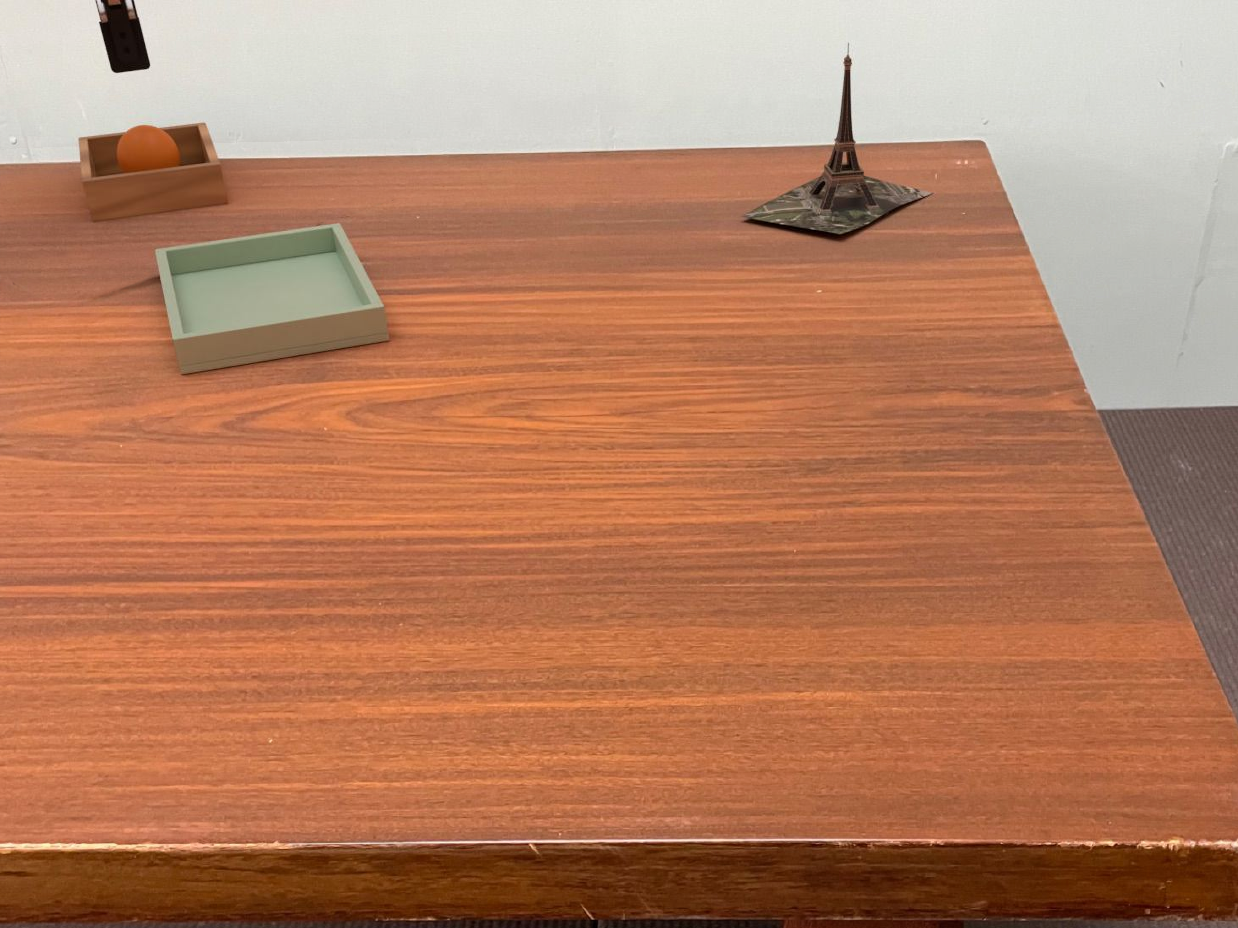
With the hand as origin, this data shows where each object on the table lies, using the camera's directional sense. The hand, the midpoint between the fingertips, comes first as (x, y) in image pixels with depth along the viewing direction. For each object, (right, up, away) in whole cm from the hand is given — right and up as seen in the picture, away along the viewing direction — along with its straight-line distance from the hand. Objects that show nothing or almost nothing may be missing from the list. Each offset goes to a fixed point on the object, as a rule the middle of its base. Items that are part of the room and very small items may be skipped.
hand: (128, 57), depth 128 cm
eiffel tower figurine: (+62, -14, -2) cm, 63 cm away
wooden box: (0, -10, +7) cm, 12 cm away
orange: (0, -9, +6) cm, 11 cm away
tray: (+17, -26, -17) cm, 36 cm away
